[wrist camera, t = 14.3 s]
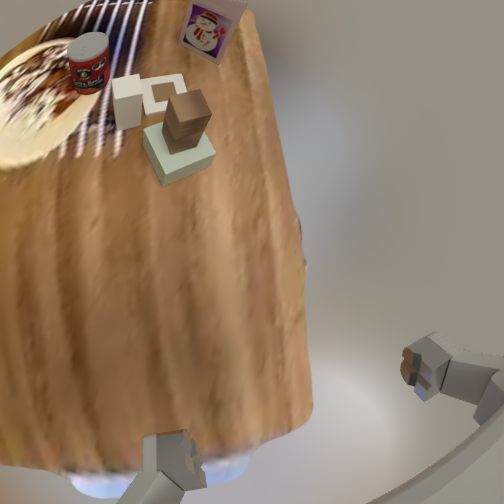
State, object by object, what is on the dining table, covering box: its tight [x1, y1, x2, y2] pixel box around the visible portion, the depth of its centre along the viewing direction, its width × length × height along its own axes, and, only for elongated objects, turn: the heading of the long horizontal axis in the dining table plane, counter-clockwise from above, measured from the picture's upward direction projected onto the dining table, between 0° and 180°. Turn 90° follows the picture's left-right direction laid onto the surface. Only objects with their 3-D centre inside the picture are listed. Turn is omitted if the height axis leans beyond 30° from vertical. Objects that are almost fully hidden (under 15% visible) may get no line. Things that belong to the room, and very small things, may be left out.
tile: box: [140, 74, 187, 116], centre depth 48 cm, size 9×9×1 cm
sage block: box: [143, 121, 216, 187], centre depth 45 cm, size 9×9×6 cm
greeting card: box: [178, 0, 248, 65], centre depth 46 cm, size 11×7×15 cm, turn 61°
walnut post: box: [162, 89, 212, 155], centre depth 38 cm, size 4×4×10 cm
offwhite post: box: [112, 74, 143, 131], centre depth 41 cm, size 4×4×10 cm
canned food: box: [67, 32, 109, 95], centre depth 38 cm, size 8×8×11 cm
